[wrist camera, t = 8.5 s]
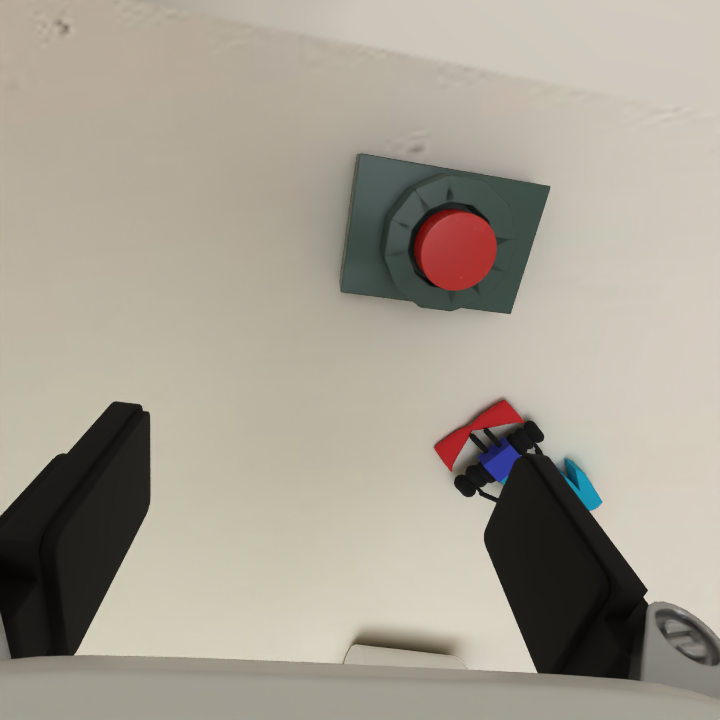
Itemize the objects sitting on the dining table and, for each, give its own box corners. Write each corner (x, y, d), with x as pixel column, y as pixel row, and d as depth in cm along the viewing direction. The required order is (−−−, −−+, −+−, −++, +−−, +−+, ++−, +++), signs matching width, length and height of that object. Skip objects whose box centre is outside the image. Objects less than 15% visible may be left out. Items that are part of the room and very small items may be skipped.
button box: (339, 281, 26) (341, 302, 22) (356, 153, 23) (362, 152, 19) (497, 303, 27) (523, 325, 23) (532, 183, 24) (569, 188, 20)
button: (407, 276, 22) (413, 285, 20) (422, 203, 21) (430, 206, 19) (474, 285, 23) (485, 295, 21) (493, 214, 21) (506, 219, 19)
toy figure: (422, 442, 33) (537, 562, 36) (433, 475, 28) (566, 610, 31) (499, 378, 32) (613, 508, 35) (525, 402, 27) (654, 549, 30)
